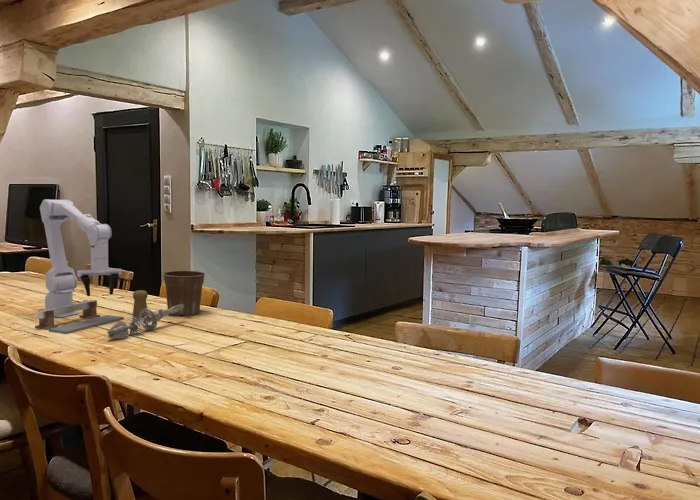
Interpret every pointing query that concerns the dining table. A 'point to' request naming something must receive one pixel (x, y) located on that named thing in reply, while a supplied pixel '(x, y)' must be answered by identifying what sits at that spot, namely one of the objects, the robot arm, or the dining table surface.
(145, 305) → the cork
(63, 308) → the steel rail
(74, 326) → the long grey plate
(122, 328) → the spaceship
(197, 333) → the dining table surface
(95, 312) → the cradle rack
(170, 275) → the plant pot
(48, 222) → the robot arm
